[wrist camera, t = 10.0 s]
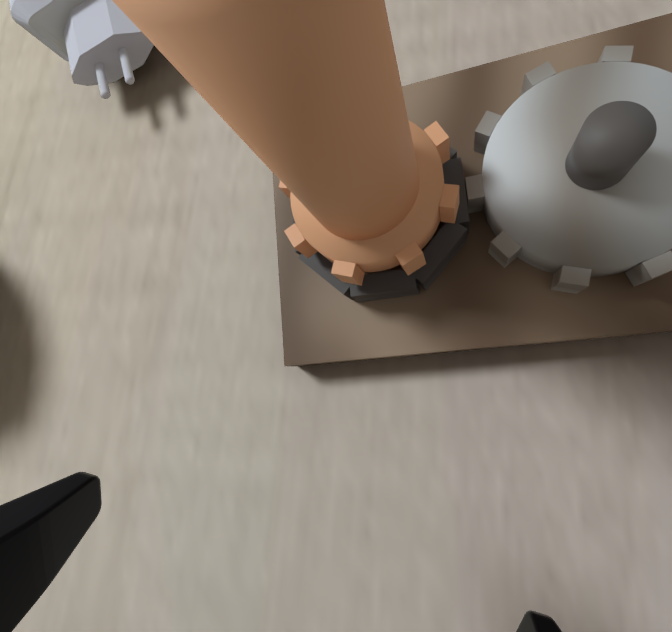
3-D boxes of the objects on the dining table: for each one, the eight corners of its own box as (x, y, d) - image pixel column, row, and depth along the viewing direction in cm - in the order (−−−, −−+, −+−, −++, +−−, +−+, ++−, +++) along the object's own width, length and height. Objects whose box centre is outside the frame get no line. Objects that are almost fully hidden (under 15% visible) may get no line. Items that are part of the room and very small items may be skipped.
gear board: (685, 34, 17) (774, -98, 12) (753, 323, 15) (890, 303, 10) (282, 138, 22) (232, 74, 17) (297, 366, 20) (246, 365, 15)
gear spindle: (491, 235, 17) (586, -164, 4) (356, 323, 18) (118, 212, 5) (404, 120, 18) (289, -401, 6) (285, 207, 19) (-16, -79, 7)
